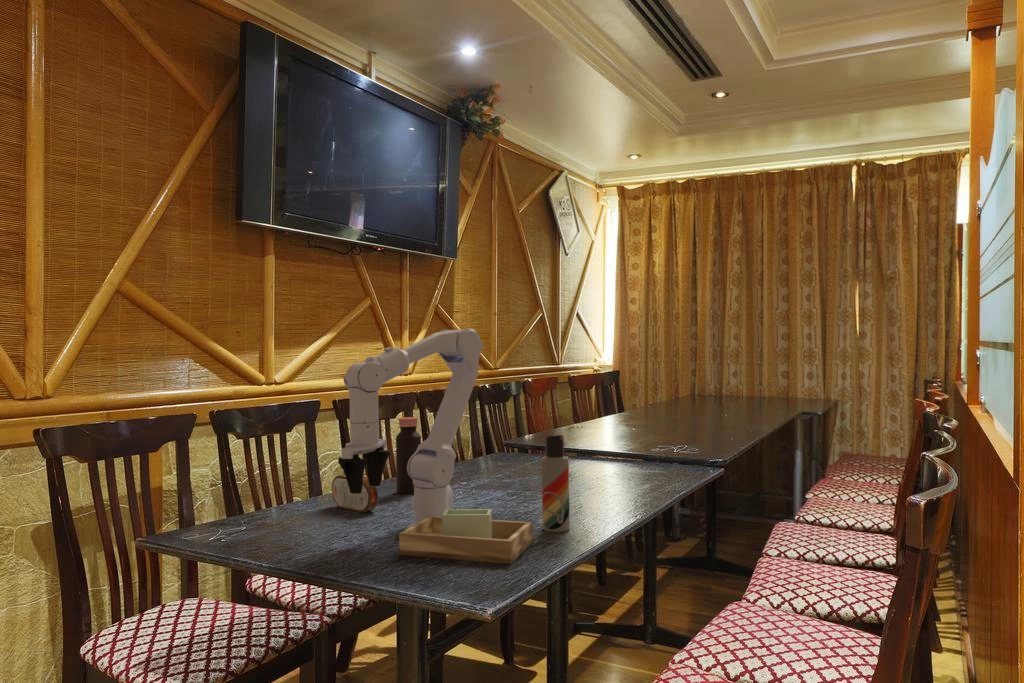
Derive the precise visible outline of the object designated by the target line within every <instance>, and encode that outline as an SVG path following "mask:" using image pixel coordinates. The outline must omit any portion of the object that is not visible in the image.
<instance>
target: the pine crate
mask: <svg viewBox="0 0 1024 683" xmlns="http://www.w3.org/2000/svg"><path fill="white" fill-rule="evenodd" d="M533 527H534V526H533V521H520V520H519V521H516V520H501V519H492V538H478V537H464V536H449V535H443V533H442V517H439V516H429V517H428V518H426V519H424V520H422V521H420V522H419V523H417V524H415V525H413V526H412V527H410V528H406V529H405V530H403V531H401V532H399V534H398V541H399V542H398V543H399V546H398V547H399V555H400V556H408V557H422V558H433V559H435V558H436V559H444V560H445V559H447V560H456V561H457V560H458V561H471V562H480V563H481V562H482V563H484V562H485V563H496V564H506V565H507V564H509V565H512V564H513V563H514V562H515V561H516V560H517V559H518V557H520V556H521V555H522V554H523V553H524V552H525V551H526V550H527V549H528V548H529V547H530V546H531V545H532V544H533V543H534V540H533V539H534V535H533V534H534V529H533Z"/></svg>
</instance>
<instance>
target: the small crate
mask: <svg viewBox="0 0 1024 683" xmlns="http://www.w3.org/2000/svg"><path fill="white" fill-rule="evenodd" d="M492 518H493V516H492V509H491V508H473V509H471V508H469V509H468V508H465V509H463V508H462V509H460V508H458V509H454V508H453V509H446V510H445V512H444V513H443V515H442V533H443V535H449V536H464V537H478V538H492V520H493V519H492Z"/></svg>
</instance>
